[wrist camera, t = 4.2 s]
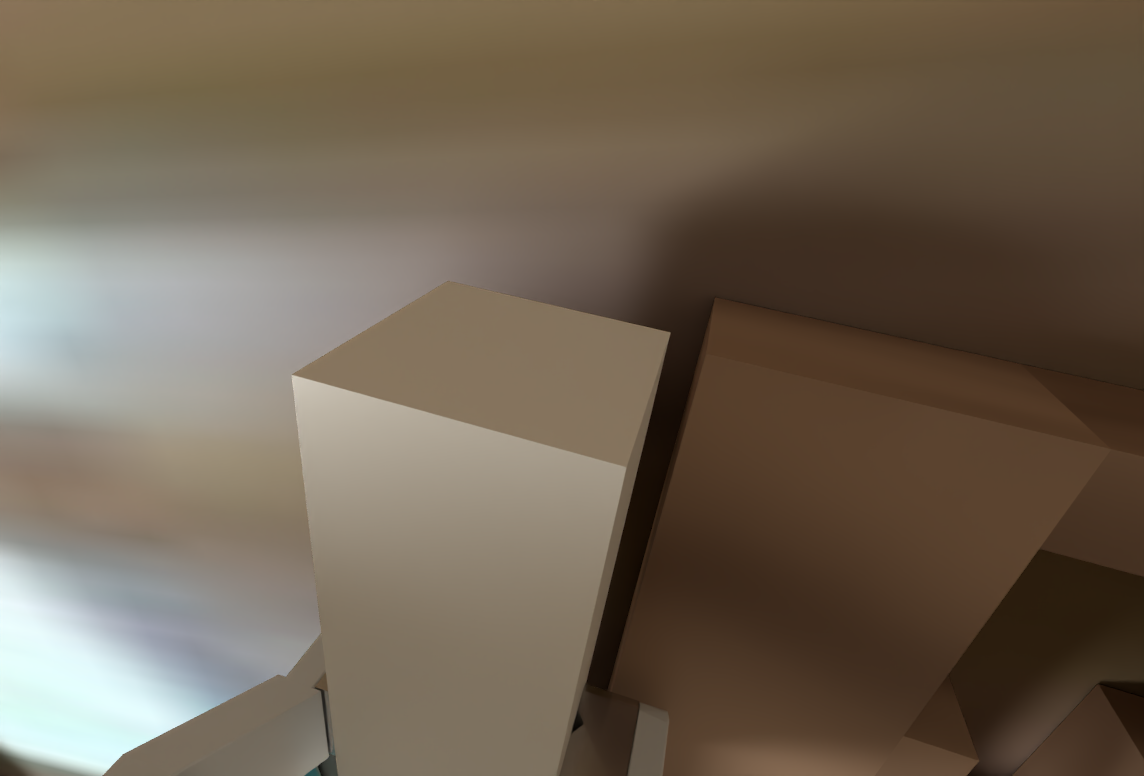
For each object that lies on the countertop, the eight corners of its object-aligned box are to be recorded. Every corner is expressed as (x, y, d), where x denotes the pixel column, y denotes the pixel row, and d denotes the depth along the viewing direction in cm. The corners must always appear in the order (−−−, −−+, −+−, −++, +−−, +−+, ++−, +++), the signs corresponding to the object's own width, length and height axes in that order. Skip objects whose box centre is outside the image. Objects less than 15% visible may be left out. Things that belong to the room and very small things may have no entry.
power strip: (508, 244, 9) (256, 395, 5) (687, 283, 9) (616, 499, 4) (467, 730, 16) (348, 998, 11) (568, 768, 16) (488, 1066, 11)
